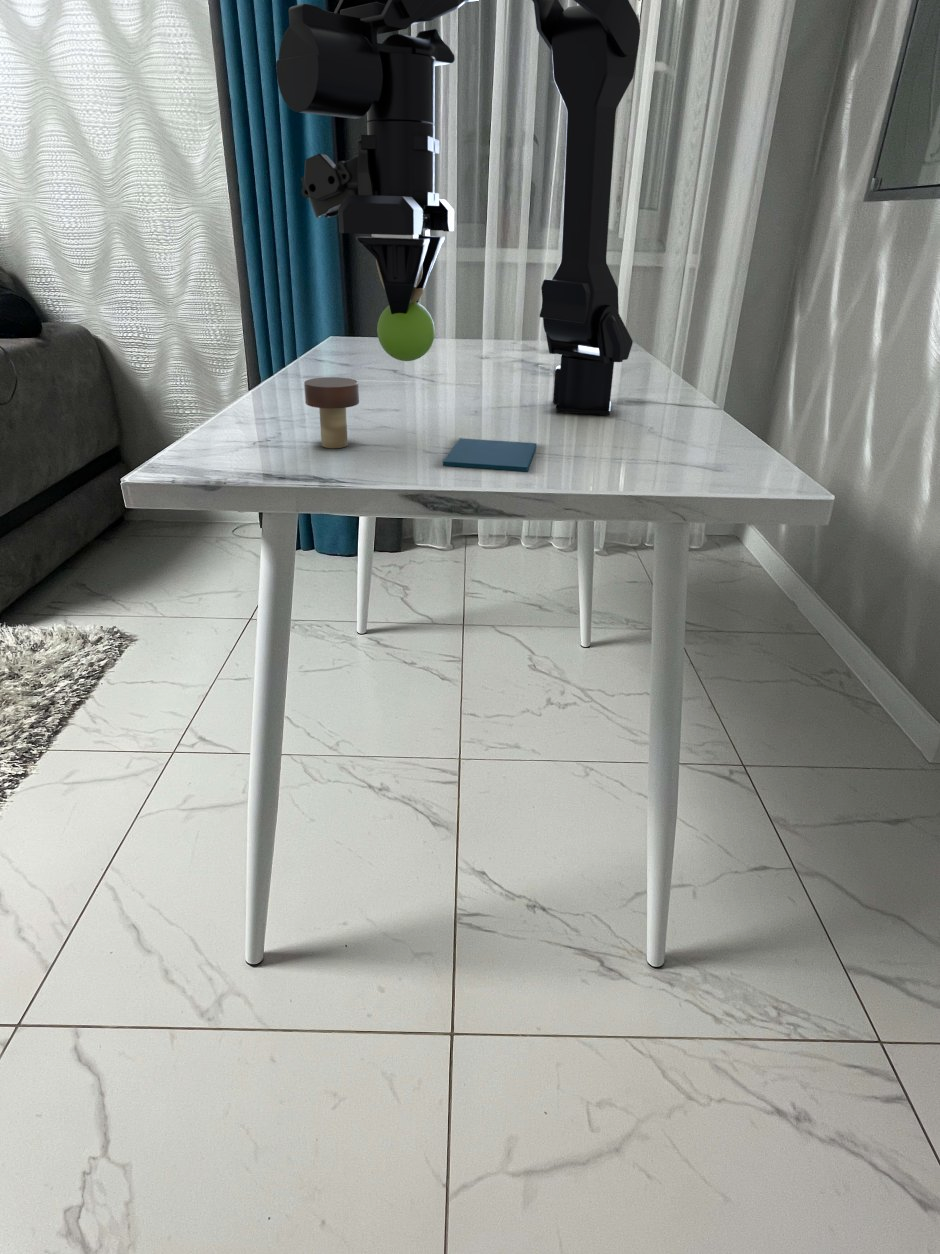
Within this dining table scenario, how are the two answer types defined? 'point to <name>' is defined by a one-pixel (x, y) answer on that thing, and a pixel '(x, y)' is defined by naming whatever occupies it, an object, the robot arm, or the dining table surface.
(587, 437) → the dining table surface
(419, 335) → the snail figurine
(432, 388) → the dining table surface
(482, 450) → the flat rectangular board
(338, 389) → the mushroom
